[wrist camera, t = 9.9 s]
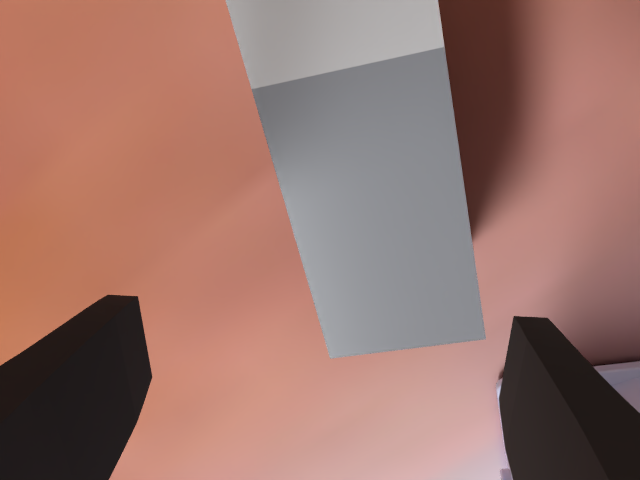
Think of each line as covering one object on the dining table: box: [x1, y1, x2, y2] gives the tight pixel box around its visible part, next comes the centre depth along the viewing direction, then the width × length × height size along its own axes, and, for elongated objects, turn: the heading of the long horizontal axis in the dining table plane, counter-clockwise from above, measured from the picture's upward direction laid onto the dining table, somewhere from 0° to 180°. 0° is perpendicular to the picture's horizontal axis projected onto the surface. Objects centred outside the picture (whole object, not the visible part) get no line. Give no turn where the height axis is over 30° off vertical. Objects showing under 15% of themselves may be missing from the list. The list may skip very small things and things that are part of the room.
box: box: [226, 0, 486, 359], centre depth 17 cm, size 4×11×5 cm, turn 14°
